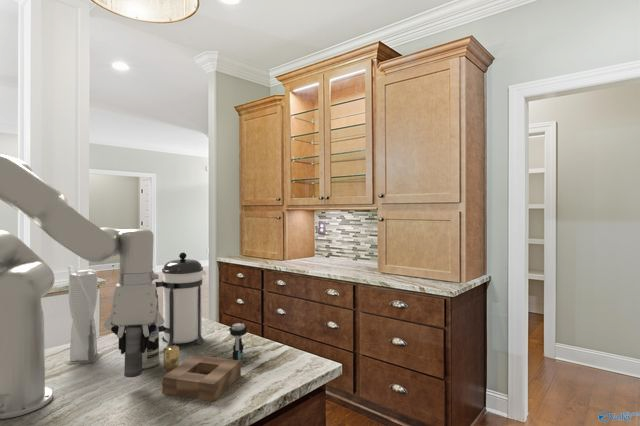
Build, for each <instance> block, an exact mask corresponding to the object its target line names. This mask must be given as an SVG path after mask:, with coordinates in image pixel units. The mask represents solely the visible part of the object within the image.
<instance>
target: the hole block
mask: <svg viewBox="0 0 640 426" xmlns="http://www.w3.org/2000/svg"><path fill="white" fill-rule="evenodd" d="M241 363H242V361H241V359H240V360H233V358H232V359H230V358H223V357H216V356H215V357H213V356H207V355H206V356H205V355H196V354H194V355H192V356H191V357H190V358H188V359H187V360H185V361H184V362H182V363H180V364H179V366H178V367H176V368H175V369H173V370H172V371H170V372H169V373H165V375H163V376H162V377H161V379H162V380H161V389H162V390H161V393H162V394H165V395H170V396H176V397H177V396H178V397H183V398H184V397H185V398H192V399H197V400H204V401H211V402H215V401H216V400H217V399H218V398H219V397H220V396H221V395H222V394H223V393H224V392H225V391H226V390H227V389H228V388H229V387H230V386H232V384H233V383H234V382H235V381H236V380H237V379H238V378H240V377H241V375H242V372H241V370H242V369H241V365H242V364H241Z"/></svg>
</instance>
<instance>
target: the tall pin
mask: <svg viewBox="0 0 640 426" xmlns="http://www.w3.org/2000/svg"><path fill="white" fill-rule="evenodd" d="M142 336H143V327H142V325H128V326H126V330H125V353H124V367H123V368H124V369H123V372H124V373H123V375H124V377H125V378H131V379H132V378H136V377H140V376H142V374H143V369H142V355H143V353H142V352H141V341H142Z"/></svg>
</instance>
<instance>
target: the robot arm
mask: <svg viewBox="0 0 640 426" xmlns="http://www.w3.org/2000/svg"><path fill="white" fill-rule="evenodd" d="M0 200H1V201H2V202H4V203H6V204H7V205H8V206H10V207H12V208H13V209H14V210H15V211H17V212H19V213H20V214H22V215H23V216H25V217H26V218H28V219H29V220H31V221H32V222H34V223H35V225H36V226H37V227H38V228H40V229H41V230H42V231H44V233H45V234H47V235H48V236H49V237H50V238H51V239H53V240H54V241H55V242H57V243H58V244H60V246H62V247H64V249H68V251H70V252H71V253H73V254H75V255H76V256H78V257H80V258H81V259H83V260H86V261H87V262H90V263H102V262H105V261H107V260H109V259H110V258H112V257H118V256H119V269H118V271H119V272H118V283H116V285H115V289H114V293H113V299H112V305H111V313H110V315H109V316H108V317H107V318H106V320H105V322H104V323H103V324H102V325H103V327H104V328H106V329H108V330H109V331H111V332H112V333H113V334H114V335H115V336H116V337H117V339H118V350H119V351H120V355H125V332H126V326H128V325H142V327H143V332H144V333H143V336H142V341H141V352H142V353H144V352H145V350H146V348H148V347H149V335H150V334H151V333H152V332H153V331H154V330H155V329H156V328H157V327H159V326H161V325H163V324H164V322H165V320H164V319H163V316H162V314H161V312H159V311H158V309H159V298H158V299H157V295H158V287H157V288H156V283H155V282H156V281H154V280H159V278H160V277H159V273H155V272H154V270H153V269H154V268H153V267H154V233H153V231H152V230H150V229H145V228H127V229H120V228H114V227H104V226H103V227H99V226H98V225H96V224H95V223H93V222H91V221H90V220H89V219H88V218H86V217H84V216H83V215H82V214H81V213H79V212H78V211H77V210H75V208H74V207H73V206H72V205H71V204H70V203H69V201H68V199H67V197H66V196H65V195H64V193H63V192H61V191H60V190H58V189H57V188H55V187H54V186H53V185H51V184H50V183H49V182H47V181H45V180H44V179H42V178H41V177H39V176H38V175H36V174H35V173H34V172H33V170H32V168H31V167H30V165H29V164H28V163H26V162H25V161H23V160H21V159H19V158H15V157H12V156H10V155H5V154H0ZM153 281H154V282H153ZM54 284H55V273H54V271H53V270H52V268H51V267H50V266H49V264H48V263H46V262H45V261H44V260H43V259H42V258H41V257H40V256H39V255H38V254H36V252H35V251H33V249H31V247H29V246H28V245H27V244H26V243H25V242H24V241H22V240H21V239H20V238H19V237H18V236H16V235H15V234H13V233H11V232H9V231H6V230H3V229H0V420H2V419H3V420H4V419H11V418H16V417H20V416H23V415H27V414H29V413H33V412H34V411H37V410H39V409H41V408H43V407H44V406H45V405H47V404H48V403H50V401H51V400H52V399H53V398H54V391H53V389H51V388H50V387H47V386H46V375H45V374H46V367H45V366H46V365H45V363H46V361H45V360H46V358H45V355H46V354H45V351H46V350H45V349H46V348H45V347H46V346H45V345H46V344H45V318H44V312H43V306H42V298H43V297H45V295H47V294H48V293H49V292H50V291H51V290H52V288H53V286H54ZM155 318H156V320H157V322H155ZM154 322H155V323H154ZM152 323H153V324H152ZM150 324H152V325H151V326H150Z"/></svg>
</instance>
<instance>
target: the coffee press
mask: <svg viewBox="0 0 640 426" xmlns="http://www.w3.org/2000/svg"><path fill="white" fill-rule="evenodd" d="M178 257H179V259H173V260H170V261H168V262H166V263H165V264H164V265H163V267H162V269H161V272H162V277H163V278H162V281H154V282H155V283H156V288H157V289H158V288H161V287H162V288H163V291H162V293H163V294H162V295H163V296H162V298H163V299H162V300H163V301H162V302H163V303H162V306H163V308H162V309H163V311H162V313H163V316H162V317H163V319H164V320H165V322H164V324H162V325H161V326H159V333H160V332H163V336H162V341H163V342H166V343H167V342H168V344H167V347H168V346H177V344H186V343H191V342H194V341H195V342H196V343H197V344H198V345H199V346H201V345H203V344H204V343H205V340H204V338H203V336H202V332H203V331H202V330H203V329H202V326H203V323H202V322H203V320H202V319H203V317H202V316H203V310H202V309H203V308H202V307H203V306H202V305H203V303H202V302H203V301H202V300H203V294H202V293H203V292H202V291H203V290H202V289H203V276H206V275H207V272H206V271H205V270H204V267H203V265H202V264H201V262H200V261H198V260H196V259H190V258H188V259H186V258H187V253H185V252H180V253H179V255H178Z"/></svg>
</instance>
